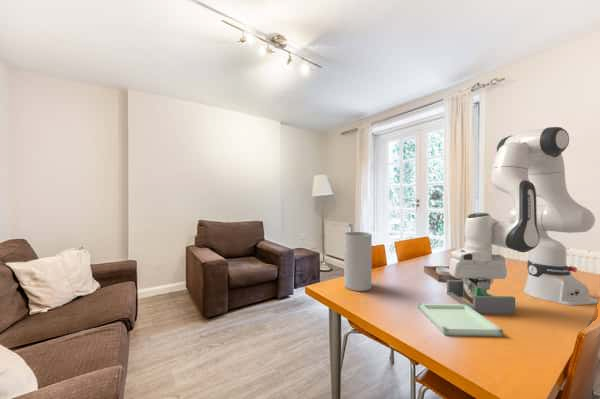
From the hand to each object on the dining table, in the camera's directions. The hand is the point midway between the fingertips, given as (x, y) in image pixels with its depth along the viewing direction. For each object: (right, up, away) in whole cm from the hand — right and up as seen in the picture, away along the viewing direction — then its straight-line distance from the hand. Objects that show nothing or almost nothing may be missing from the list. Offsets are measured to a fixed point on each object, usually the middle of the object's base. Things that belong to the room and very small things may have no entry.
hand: (477, 288), depth 93 cm
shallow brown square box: (+7, -5, +31) cm, 32 cm away
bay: (0, -6, 0) cm, 6 cm away
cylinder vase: (-43, -6, +18) cm, 47 cm away
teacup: (+5, -6, +29) cm, 30 cm away
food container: (0, -6, 0) cm, 6 cm away
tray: (-17, -6, -13) cm, 23 cm away
